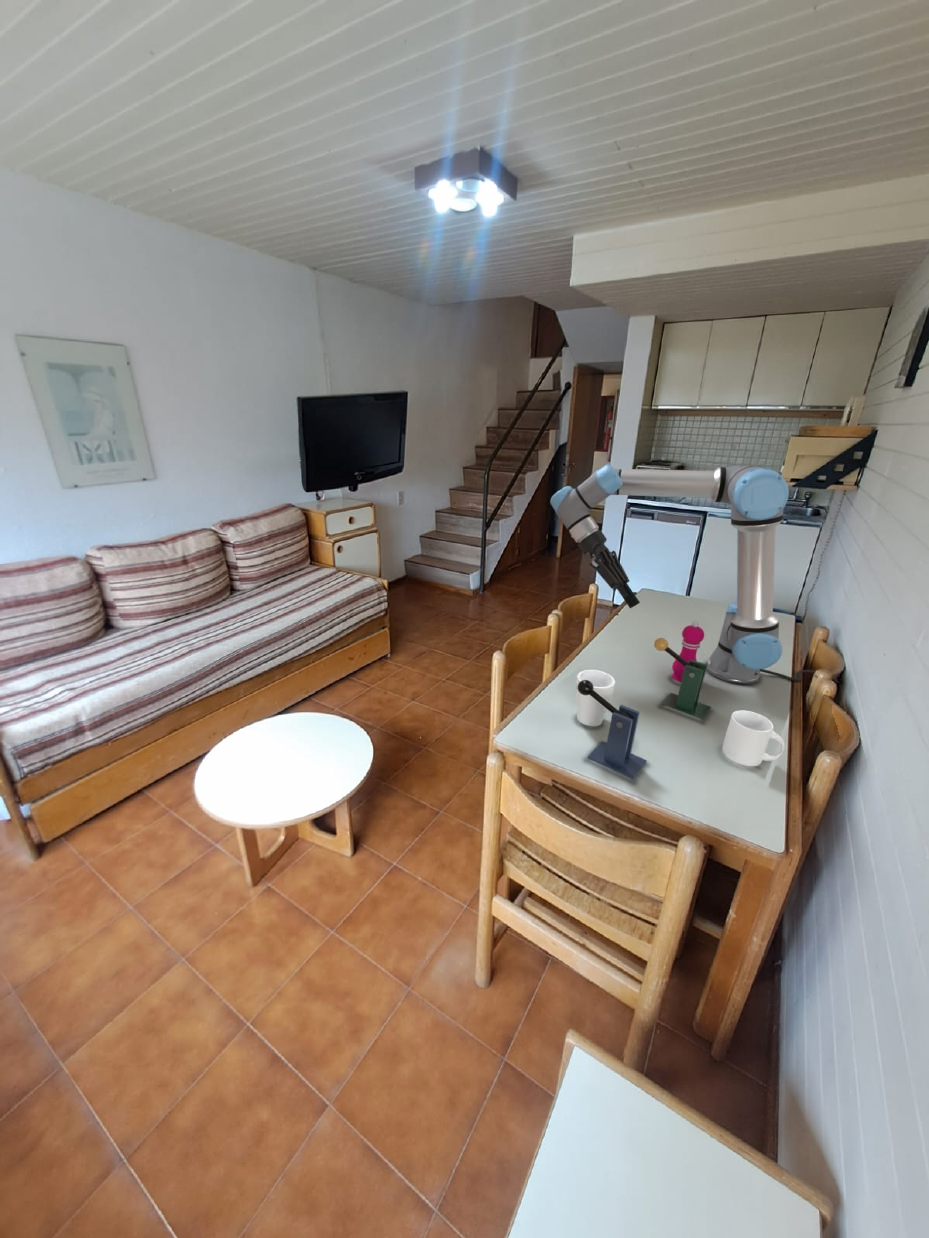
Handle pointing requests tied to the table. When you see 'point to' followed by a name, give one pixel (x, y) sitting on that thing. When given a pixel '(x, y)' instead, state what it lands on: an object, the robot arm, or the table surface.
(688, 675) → the green bracket
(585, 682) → the black lever
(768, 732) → the mug
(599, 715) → the foam cup
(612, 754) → the blue bracket
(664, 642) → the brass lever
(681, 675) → the pepper mill
